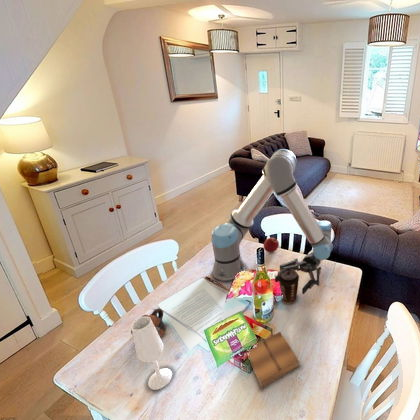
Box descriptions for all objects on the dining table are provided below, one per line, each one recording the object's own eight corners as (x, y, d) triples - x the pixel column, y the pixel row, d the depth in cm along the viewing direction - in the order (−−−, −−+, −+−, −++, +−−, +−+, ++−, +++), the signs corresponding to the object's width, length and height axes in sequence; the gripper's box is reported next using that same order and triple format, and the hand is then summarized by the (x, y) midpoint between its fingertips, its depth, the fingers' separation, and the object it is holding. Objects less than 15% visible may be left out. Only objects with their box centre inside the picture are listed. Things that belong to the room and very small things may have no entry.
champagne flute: (166, 364, 88) (148, 309, 78) (176, 377, 84) (159, 322, 74) (144, 379, 83) (122, 324, 73) (153, 394, 79) (132, 338, 69)
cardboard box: (246, 354, 92) (245, 348, 90) (280, 337, 98) (279, 331, 97) (261, 388, 82) (261, 381, 80) (298, 366, 88) (298, 360, 87)
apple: (273, 256, 143) (272, 244, 139) (261, 252, 146) (260, 239, 143) (281, 249, 149) (281, 237, 145) (269, 245, 152) (269, 233, 149)
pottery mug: (160, 345, 95) (141, 334, 90) (142, 348, 98) (123, 338, 93) (175, 312, 104) (159, 302, 99) (158, 316, 107) (142, 306, 102)
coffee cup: (288, 288, 121) (287, 265, 116) (303, 296, 117) (303, 272, 111) (275, 299, 115) (274, 275, 109) (290, 308, 111) (290, 284, 105)
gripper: (336, 274, 126) (314, 303, 109) (291, 257, 136) (265, 282, 120) (337, 261, 122) (315, 289, 106) (291, 245, 133) (264, 268, 116)
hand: (289, 285), depth 113 cm, fingers open, 13 cm apart
